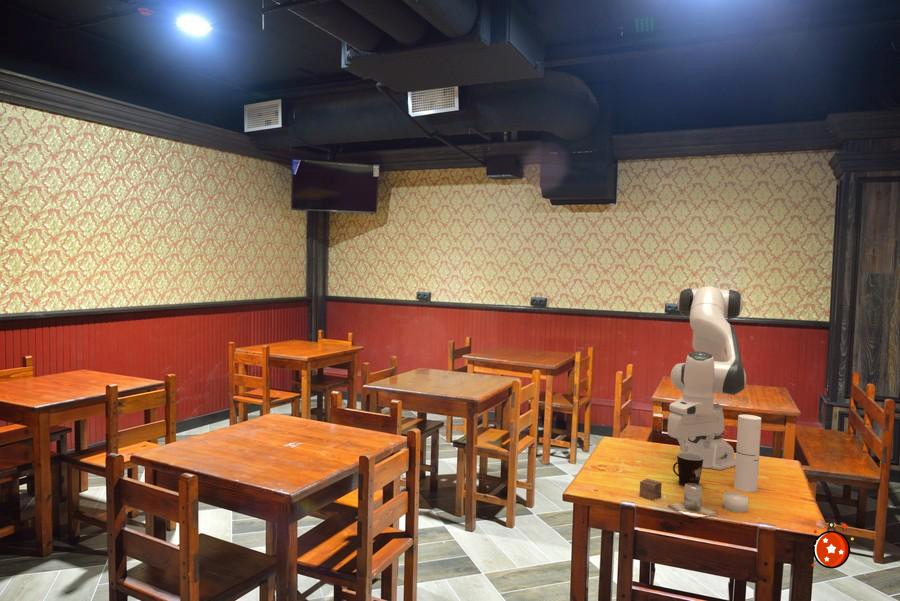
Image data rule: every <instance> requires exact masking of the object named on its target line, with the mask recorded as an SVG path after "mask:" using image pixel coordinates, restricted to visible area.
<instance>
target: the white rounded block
mask: <svg viewBox="0 0 900 601" xmlns="http://www.w3.org/2000/svg"><path fill="white" fill-rule="evenodd" d="M722 504H723V505H722V508H723V509H725V510H727V511H729V512H732V513H741V514H743V513H747V512H748V511H749V497H748V496H747V495H746V494H743V493H739V492H732V491H727V492H724V493H723V502H722Z"/></svg>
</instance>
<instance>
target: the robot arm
mask: <svg viewBox="0 0 900 601" xmlns="http://www.w3.org/2000/svg"><path fill="white" fill-rule="evenodd" d="M676 304H677V309H678V313H680V314H681V315H682V316H684V317H689V326H690V328H691V329H692V349H693V350H694V351H692V352H689V353H688V354H687V356H686V360H685V362H681V363H676V364H675V365H674V366H673V367H672V369H671V372H670V379H671V380H670V381H671V383H672V384H673V386H674V387H675V388H676V389H677V390H679V391H680V392H681V394H682V397H680V398H679V399H677V400H676V401H673V402H671V403H669V406H668V407H669V409H668V410H669V411H670V412H669V415H668V417H667V418H668V419H667V434H668V436H669V437H670V438H673V439H676V440H677V442H678V443H679V450H680V451H681V452H682V453H692V454H696V455H700V456H702V457H703V458H704V459H703V465H702V469H703V468H706V469H714V470H720V471H722V470H726V469H729V468H732V467H735V466H736V457H735V451H734V448H733V446H732V445H731V444H729V443H728V442H727V441H726V440H725V439H724V438H723V435H727V429H725V417H724V412H723V410H724V409H723V406H722V405H721V404H720V403H714V402H715V395H714V393H715V394H727V395H731V396H735V395H738V394H739V393H741V392H742V391H744V390H745V387H746V384H747V374H746V371H745V368H744V366H743V365H744V364H743V361H742V356H741V350H740V344H739V341H738V336H737V332H736V329H735V327H734V325H732V324H731V323H729V322H728V321H727V320H732V319H736V318H737V317H739V316H741V313H742V311H743V309H744V308H743V307H744V300H743V298H742V294H741V293H740V292H739V291H738V290H733V289H729V290H728V289H723V288H717V287H716V286H711V285H709V286H708V285H706V286H703V287H700V288H691V287H689V288H685V289H683V290H681V291H680V293H679V295H678V297H677V302H676ZM722 434H723V435H722Z"/></svg>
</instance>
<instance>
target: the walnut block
mask: <svg viewBox="0 0 900 601" xmlns="http://www.w3.org/2000/svg"><path fill="white" fill-rule="evenodd" d="M662 486H663V484H662V482H661V481H659V480H655V479H651V478H645V479H643V480H641V481H639V493H638V496H639V497H640V498H644V499H647V500H649V499H650V500H649V501H653V500H654V501H656V500H658V499H660V498H662ZM657 498H658V499H657ZM655 499H656V500H655Z"/></svg>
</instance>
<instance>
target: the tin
mask: <svg viewBox="0 0 900 601" xmlns="http://www.w3.org/2000/svg"><path fill="white" fill-rule="evenodd" d="M683 495H684V496H683V498H684V499H683V502H684V508H685V509H687V510H690V511H701V505H703V503H702V500H703V499H702V498H703V485H701V484H699V485H698V484H694V483H686V484H685V487H684V494H683Z"/></svg>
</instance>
